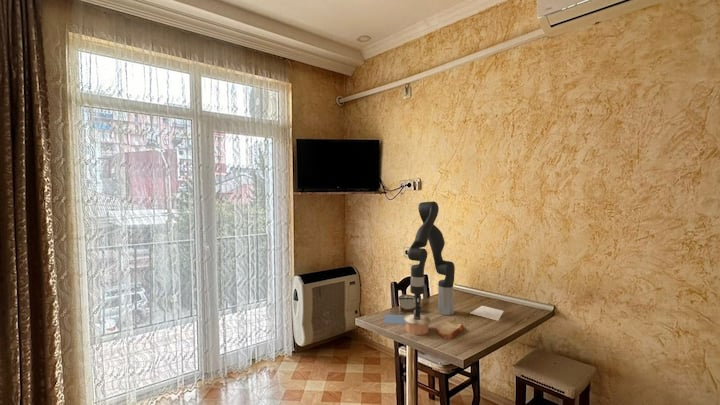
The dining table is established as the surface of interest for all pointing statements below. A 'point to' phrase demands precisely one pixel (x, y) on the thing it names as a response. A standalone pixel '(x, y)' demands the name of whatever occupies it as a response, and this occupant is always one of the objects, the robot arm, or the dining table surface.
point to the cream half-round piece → (406, 303)
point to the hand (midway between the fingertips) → (417, 313)
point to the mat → (394, 319)
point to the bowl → (417, 329)
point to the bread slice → (449, 330)
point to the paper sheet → (488, 312)
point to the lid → (416, 319)
